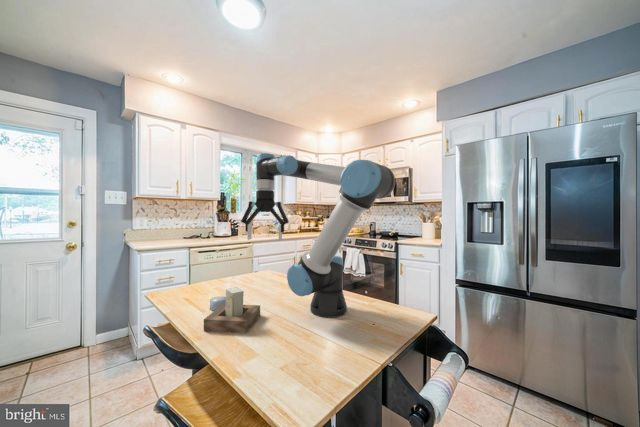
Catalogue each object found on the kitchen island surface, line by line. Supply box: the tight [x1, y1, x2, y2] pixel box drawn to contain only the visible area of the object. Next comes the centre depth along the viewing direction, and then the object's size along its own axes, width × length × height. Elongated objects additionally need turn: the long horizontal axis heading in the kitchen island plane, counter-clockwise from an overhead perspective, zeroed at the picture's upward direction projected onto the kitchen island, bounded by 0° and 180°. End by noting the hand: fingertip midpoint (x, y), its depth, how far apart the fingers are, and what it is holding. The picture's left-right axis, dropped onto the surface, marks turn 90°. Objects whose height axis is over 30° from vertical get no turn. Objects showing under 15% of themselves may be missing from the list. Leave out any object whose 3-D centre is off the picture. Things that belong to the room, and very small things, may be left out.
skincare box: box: [225, 287, 244, 317], centre depth 97 cm, size 6×4×12 cm
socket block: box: [203, 304, 261, 334], centre depth 97 cm, size 15×15×4 cm
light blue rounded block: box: [209, 295, 226, 312], centre depth 111 cm, size 7×7×4 cm
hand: (264, 239), depth 114 cm, fingers open, 13 cm apart
